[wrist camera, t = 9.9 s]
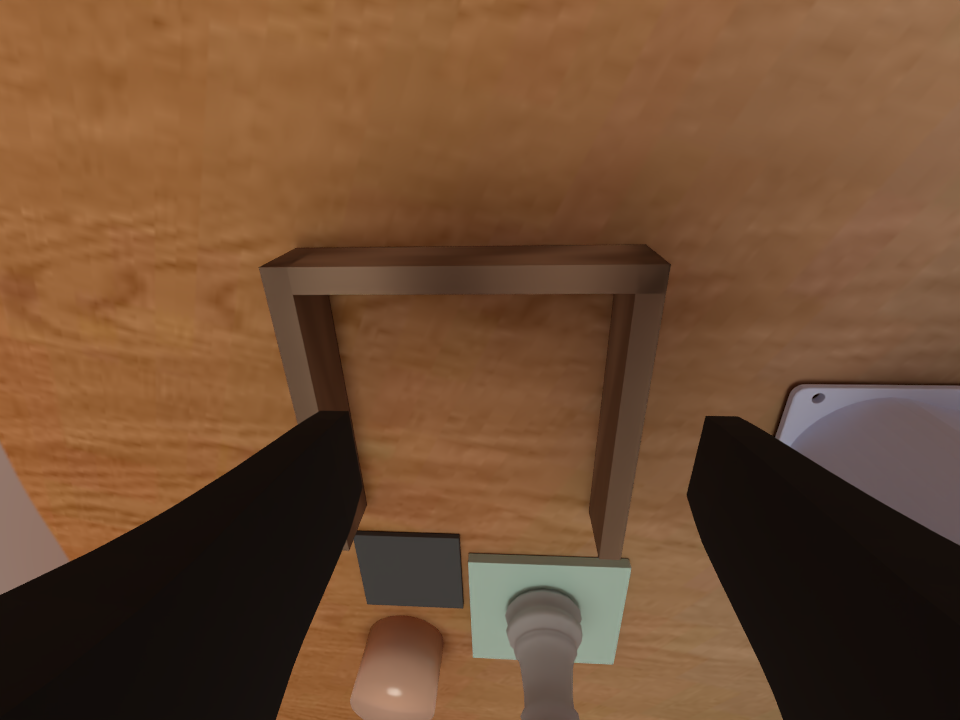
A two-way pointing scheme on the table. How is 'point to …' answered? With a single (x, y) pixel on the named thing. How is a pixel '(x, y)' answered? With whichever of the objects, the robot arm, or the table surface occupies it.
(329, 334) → the cubby
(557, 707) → the rook chess piece
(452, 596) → the dark gray tile
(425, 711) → the peach short cylinder
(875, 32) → the table surface
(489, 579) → the coaster
